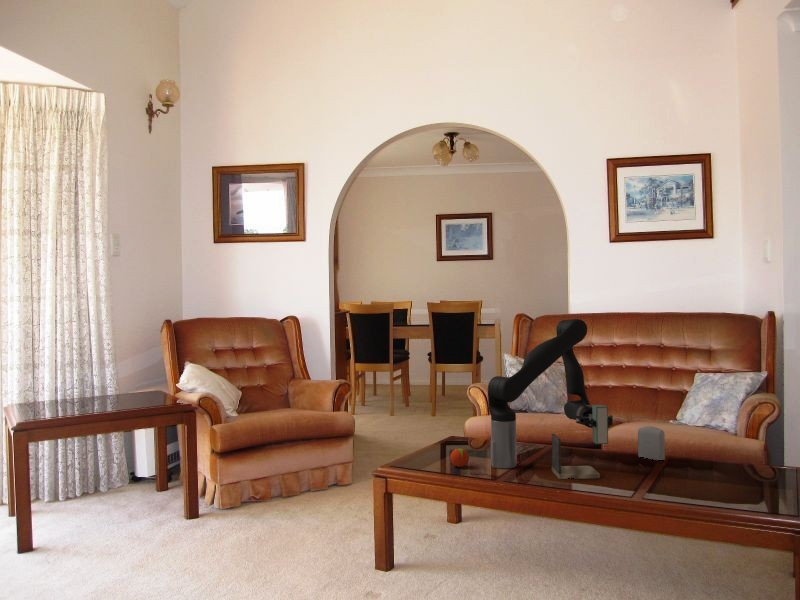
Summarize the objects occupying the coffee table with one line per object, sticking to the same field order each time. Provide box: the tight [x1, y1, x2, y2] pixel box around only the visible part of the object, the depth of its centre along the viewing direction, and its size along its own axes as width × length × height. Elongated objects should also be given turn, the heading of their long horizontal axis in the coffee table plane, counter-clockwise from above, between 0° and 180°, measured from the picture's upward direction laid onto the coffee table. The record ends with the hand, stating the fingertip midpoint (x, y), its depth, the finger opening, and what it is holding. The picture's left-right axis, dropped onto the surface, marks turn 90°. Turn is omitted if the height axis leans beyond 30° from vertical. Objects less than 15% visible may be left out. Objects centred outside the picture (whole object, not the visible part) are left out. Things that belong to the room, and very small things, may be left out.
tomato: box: [450, 447, 470, 468], centre depth 258 cm, size 8×7×7 cm
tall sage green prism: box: [591, 404, 609, 445], centre depth 246 cm, size 4×5×13 cm
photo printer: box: [637, 425, 666, 461], centre depth 267 cm, size 10×4×12 cm, turn 39°
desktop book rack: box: [551, 433, 601, 480], centre depth 245 cm, size 14×12×14 cm
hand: (601, 423), depth 244 cm, fingers closed on tall sage green prism, 4 cm apart
